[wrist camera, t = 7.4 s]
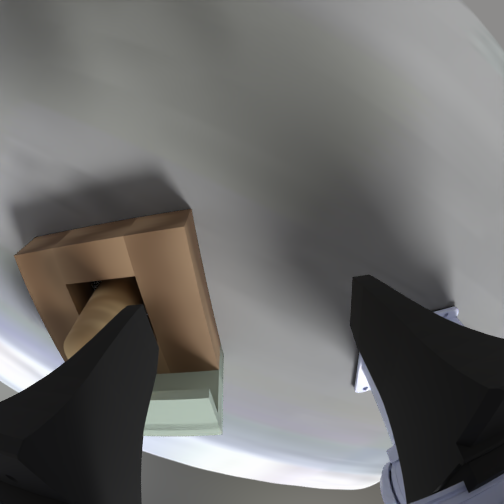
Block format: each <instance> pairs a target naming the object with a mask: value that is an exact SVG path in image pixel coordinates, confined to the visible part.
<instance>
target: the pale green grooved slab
mask: <svg viewBox="0 0 504 504" xmlns="http://www.w3.org/2000/svg"><path fill="white" fill-rule="evenodd" d="M220 345H221V343H220ZM221 349H222V348H221ZM221 349H220V360H219V370H212V371H200V372H185V373H167V374H156V378H155V383H154V387H153V391H152V395H151V400H150V404H149V408H148V413H147V417H146V422H145V427H144V433H143V436H208V435H222V426H223V360H224V355H223V351H222V350H221ZM221 351H222V352H221ZM222 355H223V356H222Z"/></svg>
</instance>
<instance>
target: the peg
mask: <svg viewBox="0 0 504 504" xmlns="http://www.w3.org/2000/svg"><path fill="white" fill-rule="evenodd" d="M139 304H143V306H144V309H145V305H144V302H143V299H142V296H141V293H140V290H139V287H138V284H137V281H136V277H135V276H132V277H124V278H115V279H107V280H101V282H100V284H99V285H98V287H97V288H96V290H95V291H94V293H93V294H92V296H91V298H90V299H89V301H88V302H87V304H86V306H85V307H84V309H83V310H82V312H81V314H80V315H79V317H78V319H77V320H76V322H75V324H74V325H73V327H72V329H71V330H70V332H69V334H68V336H67V337H66V339H65V341H64V352H65V354H66V356H67V358H68V359H69V358H71V357H72V356H73V355H74V354H75V353H76V352H77V351H79V350H80V349H81V348H82V347H83V346H84V345H85V344H86V343H87V342H89V341H90V340H91V339H92V338H93V337H94V336H95V335H96V334H97V333H98V332H99V331H100V330H101V329H102V328H103V327H104V326H105V325H106V324H107V323H108V322H109V321H111V320H112V319H113V318H114V317H115V316H116V315H117V314H118V313H119V312H120V311H121V310H122V309H124V308H125V307H126V306H128V305H139Z"/></svg>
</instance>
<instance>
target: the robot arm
mask: <svg viewBox="0 0 504 504" xmlns="http://www.w3.org/2000/svg"><path fill="white" fill-rule="evenodd" d="M458 312H459V310H458V308H457V307H450V308H447V309H443V310H439V311H435V312H432V311H430V310H428V309H426V308H424V307H422V306H421V305H419V304H417V303H415V302H414V301H412V300H410V299H409V298H407V297H405V296H404V295H402V294H400V293H399V292H397V291H396V290H394V289H392V288H391V287H389V286H388V285H386V284H384V283H383V282H381V281H380V280H378V279H376V278H374V277H373V276H371V275H364V276H358V277H353V281H352V301H351V317H350V326H351V329H352V332H353V336H354V339H355V342H356V345H357V348H358V350H359V359H358V366H357V373H356V380H355V387H354V389H355V392H357V393H360V392H364V391H368V390H371V391H372V393H373V396H374V398H375V401H376V403H377V406H378V408H379V411H380V413H381V416H382V418H383V421H384V423H385V426H386V428H387V431H388V434H389V436H390V439H391V441H392V444H393V446H392V447H391V448H390V449H388V450H387V454H388V457H389V460H390V462H388V463H387V464H386V465H385V466H384V467H383V470H382V476H381V479H380V489H381V494H382V498H383V501H384V503H385V504H504V339H502V338H498V337H495V336H491V335H487V334H484V333H481V332H478V331H475V330H472V329H470V328H467V327H464V325H463V324H462V323H461V322H460V321H459V319H458V318H457V315H458ZM158 356H159V346H158V344H157V341H156V339H155V336H154V333H153V331H152V328H151V325H150V323H149V320H148V317H147V314H146V311H145V309H144V306H143V304H139V305H128V306H126V307H125V308H124V309H122V310H121V311H120V312H119V313H118V314H117V315H116V316H115V317H114V318H113V319H112V320H111V321H109V322H108V323H107V324H106V325H105V326H104V327H103V328H102V329H101V330H100V331H99V332H98V333H97V334H96V335H95V336H94V337H93V338H92V339H91V340H90V341H89V342H87V343H86V344H85V345H84V346H83V347H82V348H81V349H80V350H79V351H77V352H76V353H75V354H74V355H73V356H72V357H71V358H69V359H68V360H67V361H66V362H65V363H63V364H62V365H61V366H59V367H58V368H57V369H55V370H54V371H53V372H51V373H50V374H49V375H47V376H46V377H44V378H42V379H41V380H39V381H38V382H36V383H35V384H33V385H31V386H30V387H28V388H27V389H25V390H23V391H21V392H19V393H18V394H16V395H14V396H12V397H10V398H8V399H6V400H4V401H1V402H0V504H141V458H142V444H143V433H144V427H145V422H146V417H147V413H148V408H149V404H150V400H151V395H152V391H153V387H154V383H155V378H156V374H157V366H158Z"/></svg>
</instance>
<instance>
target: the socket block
mask: <svg viewBox="0 0 504 504" xmlns="http://www.w3.org/2000/svg"><path fill="white" fill-rule="evenodd" d="M14 257H15V260H16V262H17V265H18V267H19V270H20V272H21V275H22V277H23V279H24V282H25V284H26V286H27V289H28V291H29V293H30V295H31V298H32V300H33V302H34V304H35V306H36V308H37V310H38V313H39V315H40V317H41V319H42V321H43V323H44V325H45V327H46V329H47V330H48V332H49V334H50V336H51V338H52V340H53V342H54V344H55V345H56V347H57V349H58V351H59V352H60V354H61V356H62V358H63V359H64V361H65V362H66V361H67V360H68V358H67V356H66V354H65V352H64V341H65V339H66V337H67V336H68V334H69V332H70V330H71V329H72V327H73V325H74V324H75V322H76V320H77V319H78V317H79V315H80V314H81V312H82V310H83V309H84V307H85V306H86V304H87V302H88V301H89V299H90V298H91V296H92V294H93V293H94V290H93V288H92V285H91V283H90V281H99V280H107V279H115V278H124V277H132V276H135V277H136V281H137V284H138V287H139V290H140V293H141V296H142V299H143V302H144V305H145V307H146V310H147V313H148V316H149V317H148V320H149V323H150V325H151V328H152V331H153V333H154V336H155V339H156V341H157V344H158V346H159V356H158V366H157V374H167V373H185V372H200V371H212V370H219V360H220V349H221V348H222V347H221V345H220V339H219V335H218V331H217V326H216V322H215V318H214V314H213V309H212V305H211V300H210V296H209V292H208V287H207V283H206V278H205V273H204V269H203V264H202V259H201V254H200V250H199V245H198V240H197V235H196V230H195V225H194V220H193V215H192V210H191V209H187V210H180V211H174V212H168V213H161V214H155V215H149V216H143V217H138V218H132V219H126V220H121V221H115V222H110V223H104V224H99V225H94V226H88V227H83V228H78V229H73V230H68V231H63V232H59V233H54V234H49V235H44V236H40V237H35V238H34V239H33V240H32V241H31V242H29V243H28V244H27V245H26V246H25V247H24V248H22V249H21V250H20V251H19V252H18V253H17V254H15V255H14ZM221 350H222V349H221ZM221 352H222V351H221ZM222 356H223V355H222Z"/></svg>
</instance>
